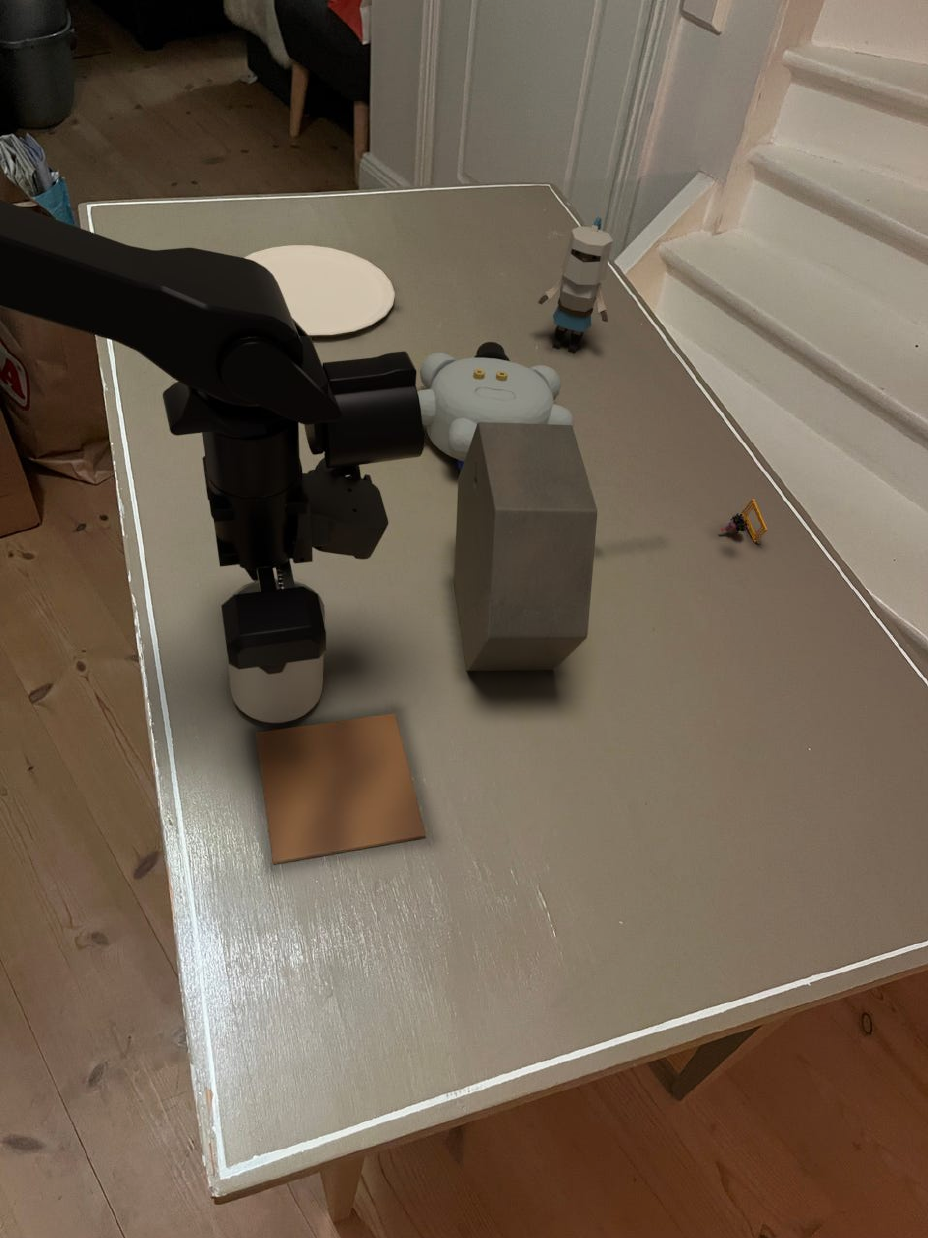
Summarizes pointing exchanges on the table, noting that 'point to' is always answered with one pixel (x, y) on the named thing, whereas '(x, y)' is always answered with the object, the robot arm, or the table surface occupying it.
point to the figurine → (484, 396)
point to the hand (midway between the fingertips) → (266, 623)
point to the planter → (523, 547)
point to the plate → (328, 288)
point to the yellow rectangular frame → (746, 522)
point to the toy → (580, 283)
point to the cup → (277, 683)
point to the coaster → (337, 788)
